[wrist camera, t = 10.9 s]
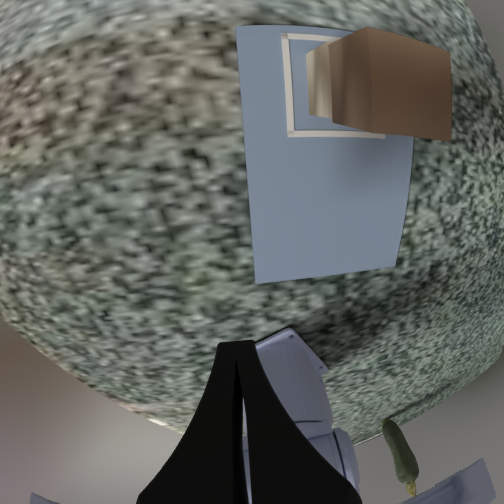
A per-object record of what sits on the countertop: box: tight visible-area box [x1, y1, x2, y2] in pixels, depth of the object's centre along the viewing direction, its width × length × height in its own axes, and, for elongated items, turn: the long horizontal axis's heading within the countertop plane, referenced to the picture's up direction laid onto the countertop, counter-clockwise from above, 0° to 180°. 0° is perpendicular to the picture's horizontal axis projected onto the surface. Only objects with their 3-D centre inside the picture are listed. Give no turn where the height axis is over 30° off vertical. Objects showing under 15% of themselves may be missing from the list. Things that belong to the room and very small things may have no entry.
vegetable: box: [382, 419, 419, 497], centre depth 34 cm, size 4×4×20 cm
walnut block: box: [328, 27, 452, 142], centre depth 9 cm, size 4×4×4 cm
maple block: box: [306, 41, 333, 119], centre depth 12 cm, size 4×4×4 cm
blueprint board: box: [235, 25, 414, 284], centre depth 17 cm, size 18×12×1 cm, turn 4°
